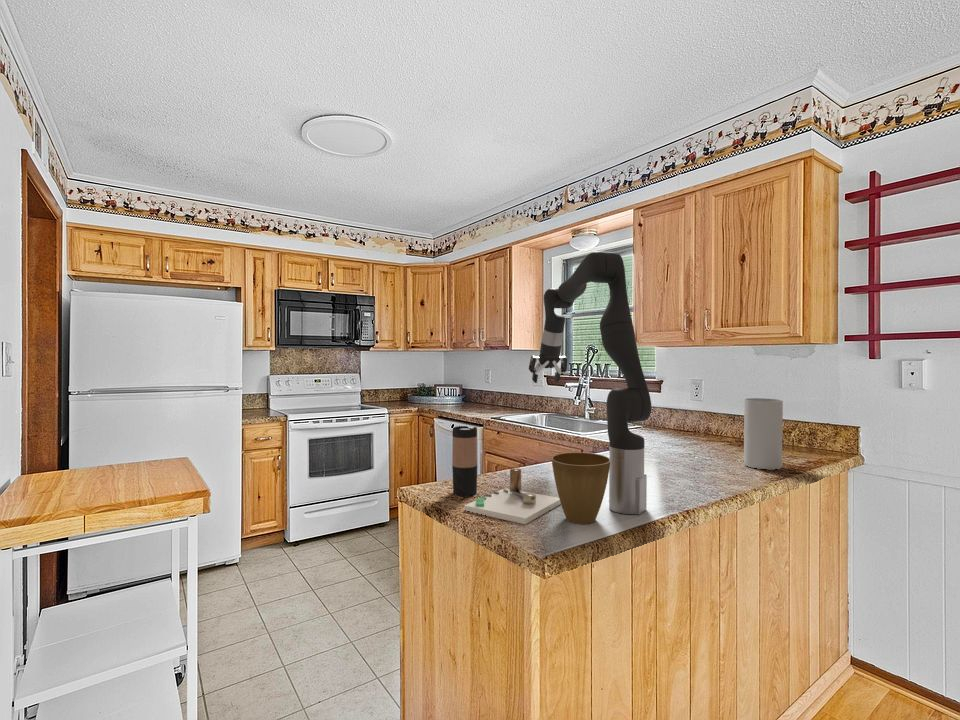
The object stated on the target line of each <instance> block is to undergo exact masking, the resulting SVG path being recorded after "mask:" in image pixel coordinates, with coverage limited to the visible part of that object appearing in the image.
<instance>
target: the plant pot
mask: <svg viewBox="0 0 960 720" xmlns="http://www.w3.org/2000/svg"><path fill="white" fill-rule="evenodd" d="M610 461H611V460H610V459H609V457H607V456H605V455H603V454H598V453H593V452H583V451H581V452H579V451H577V452H576V451H575V452H574V451H573V452H571V451H570V452H563V453H557V454H554V455H552V456H551V465H552V472H553V476H554V477H553V478H554V482H555V486H556V491H557V496H558V498H559V499H560V502H561V504H560V505H561V508H562V512H563V514H564V516H565V519H566V520H567V521H568V522H570V523H573V524H576V523H578V524H577V525H587V524H586V523H590V524H592V522H593V523H594V522H595V521H596V519H597V518H598V517H597V516H598V515H599V512H600V509H601V506H602V503H603V500H604V496H605V494H606V493H605V492H606V488H607V485H608V481H609V468H610Z"/></svg>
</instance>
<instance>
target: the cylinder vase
mask: <svg viewBox="0 0 960 720" xmlns="http://www.w3.org/2000/svg"><path fill="white" fill-rule="evenodd" d="M743 401H744V402H743V403H744V404H743V405H744V406H743V409H744V411H743V416H744V417H743V419H744V420H743V425H744V426H743V465H744V466H746V467H747V466H748V467H747V468H750V467H751V469H754V468H757V469H756V470H760V469H767V470H766V471H776V470H775V469H778V470H781V469H782V467H783V425H784V423H783V421H784V420H783V415H784V413H783V408H784V400H782V399H777V398H776V399H775V398H761V397H760V398H759V397H758V398H757V397H754V398H753V397H752V398H744V399H743Z"/></svg>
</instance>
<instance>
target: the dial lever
mask: <svg viewBox="0 0 960 720" xmlns="http://www.w3.org/2000/svg"><path fill="white" fill-rule="evenodd" d="M509 489H510V492H512V493H513V494H515V495H516V496H518V497H519V498H521V499H523V503H525V504H535V503H536V495H535V494H536V493H535V494H532V493H533V492H529V493H525V494H523V493H522V492H520V491H522V469H521V468H515V467H513V468H510V469H509Z"/></svg>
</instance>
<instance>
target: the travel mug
mask: <svg viewBox="0 0 960 720" xmlns="http://www.w3.org/2000/svg"><path fill="white" fill-rule="evenodd" d="M451 453H452V459H451V460H452V466H451V467H452V468H451V469H452V492H453V495H454V494H456V495H461V496H460V497H472V496H471V495H473V496H476V495H477V492H478V491H477V489H478V428H477V427H476V426H474V427H472V428H471V427H469V426H467V425H466V426H465V425H461V426H460V425H459V426H454V427H452V452H451ZM456 495H455V496H456Z"/></svg>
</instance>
